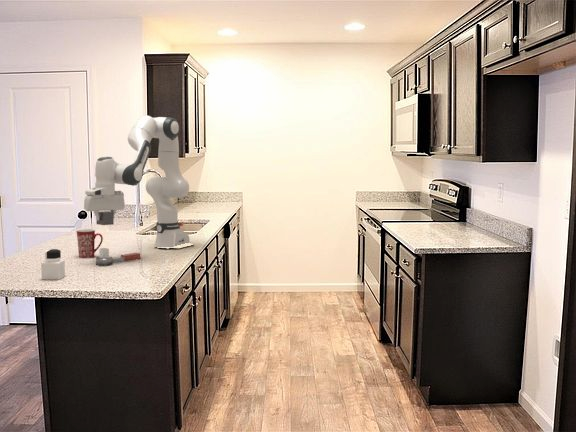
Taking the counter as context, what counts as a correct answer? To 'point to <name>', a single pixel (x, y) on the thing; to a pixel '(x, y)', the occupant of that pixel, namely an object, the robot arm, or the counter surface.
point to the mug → (87, 242)
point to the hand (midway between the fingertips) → (105, 219)
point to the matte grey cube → (106, 218)
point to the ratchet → (106, 260)
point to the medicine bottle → (53, 265)
